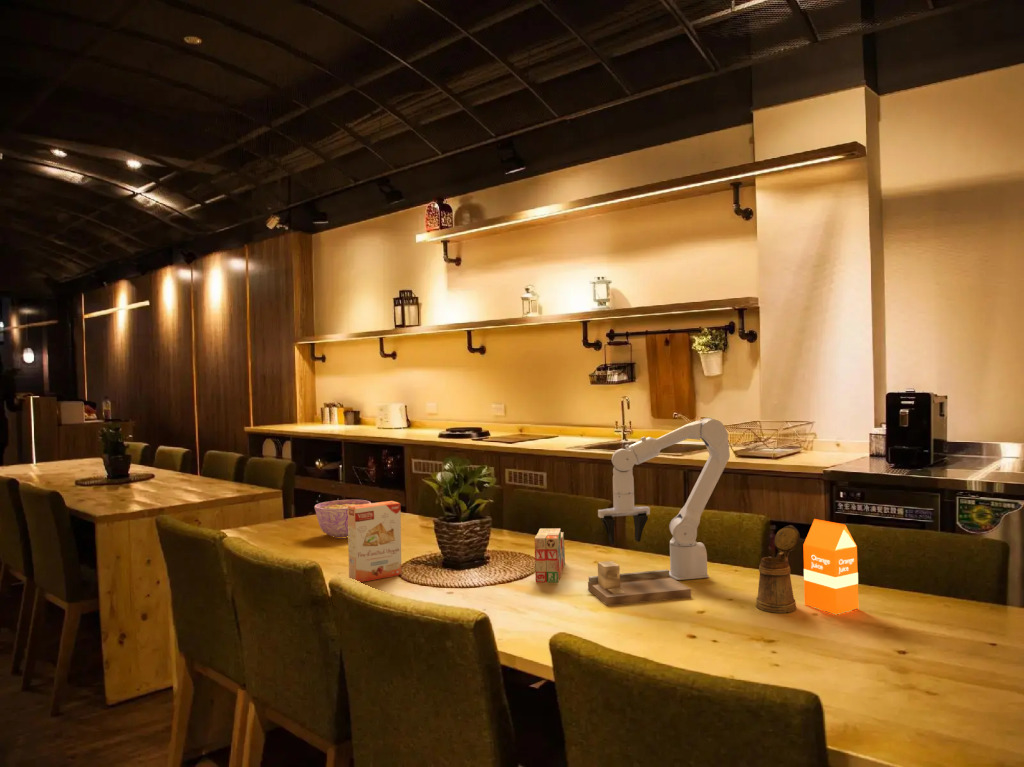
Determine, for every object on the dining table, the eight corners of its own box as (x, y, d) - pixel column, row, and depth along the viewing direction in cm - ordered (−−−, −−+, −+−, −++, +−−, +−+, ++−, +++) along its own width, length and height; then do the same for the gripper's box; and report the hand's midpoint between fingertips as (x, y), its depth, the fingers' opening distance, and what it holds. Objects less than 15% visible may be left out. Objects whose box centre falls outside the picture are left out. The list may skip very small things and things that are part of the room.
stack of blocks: (544, 562, 217) (543, 521, 217) (565, 563, 216) (564, 521, 216) (535, 582, 196) (534, 537, 196) (558, 583, 195) (557, 537, 195)
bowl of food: (365, 541, 253) (364, 508, 253) (308, 542, 253) (307, 509, 253) (376, 529, 273) (375, 498, 273) (323, 530, 273) (323, 500, 273)
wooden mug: (812, 602, 173) (810, 527, 173) (784, 616, 164) (782, 536, 164) (776, 594, 179) (774, 522, 179) (748, 607, 170) (746, 531, 170)
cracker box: (356, 584, 199) (354, 508, 199) (348, 579, 204) (346, 505, 204) (403, 575, 207) (401, 502, 207) (393, 571, 212) (391, 499, 212)
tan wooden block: (612, 582, 187) (612, 560, 187) (620, 587, 182) (619, 565, 182) (598, 583, 186) (597, 562, 186) (605, 589, 181) (604, 567, 181)
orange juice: (836, 615, 163) (834, 526, 163) (804, 605, 171) (802, 520, 171) (859, 609, 167) (857, 522, 167) (826, 599, 175) (824, 516, 175)
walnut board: (666, 582, 193) (666, 568, 193) (691, 597, 179) (690, 582, 179) (588, 589, 188) (587, 576, 188) (607, 605, 174) (606, 591, 174)
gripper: (603, 496, 194) (605, 547, 194) (654, 493, 198) (655, 543, 198) (594, 492, 201) (596, 541, 201) (643, 489, 205) (644, 537, 205)
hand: (624, 541), depth 200 cm, fingers open, 7 cm apart
